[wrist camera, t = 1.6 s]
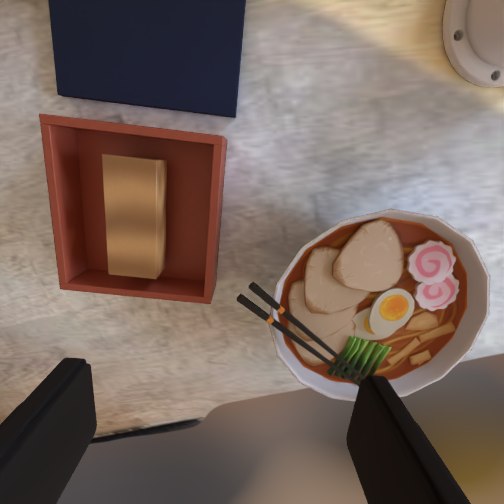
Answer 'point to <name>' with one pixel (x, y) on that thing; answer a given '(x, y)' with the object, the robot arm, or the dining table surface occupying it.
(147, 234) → the tall wooden block
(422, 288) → the ramen bowl
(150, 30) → the mat
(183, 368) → the dining table surface
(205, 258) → the red open tray
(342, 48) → the dining table surface
